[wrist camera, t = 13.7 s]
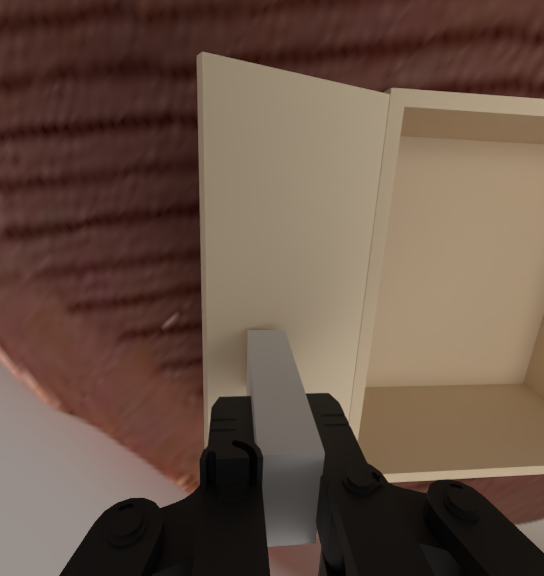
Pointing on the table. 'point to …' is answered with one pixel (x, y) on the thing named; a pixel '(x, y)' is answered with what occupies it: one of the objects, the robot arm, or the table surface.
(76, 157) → the table surface
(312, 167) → the flap
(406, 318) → the carton
